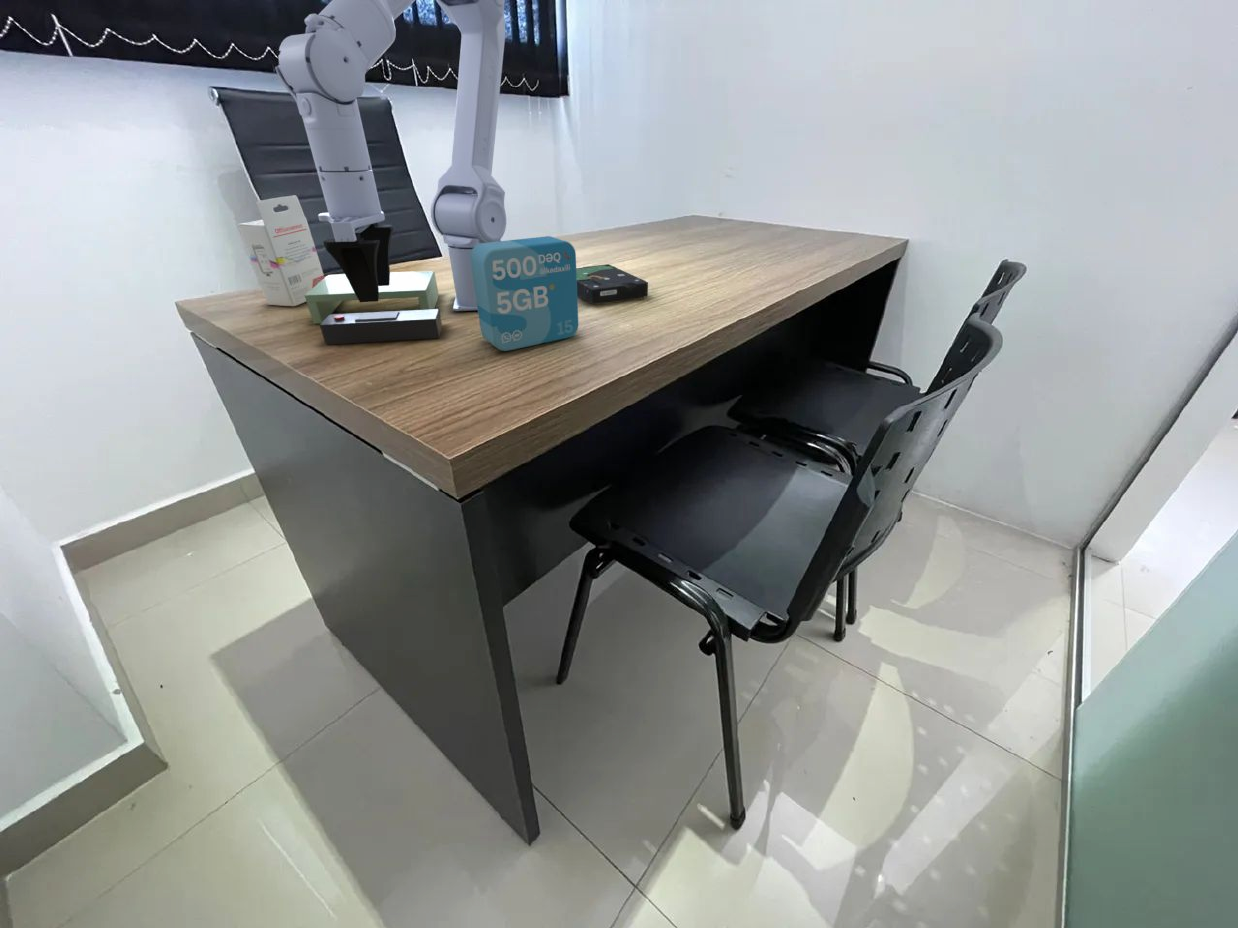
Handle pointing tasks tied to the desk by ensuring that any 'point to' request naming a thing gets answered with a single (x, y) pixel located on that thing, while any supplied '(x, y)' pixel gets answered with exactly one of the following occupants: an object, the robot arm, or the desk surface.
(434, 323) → the remote
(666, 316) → the desk surface
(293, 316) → the desk surface
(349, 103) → the robot arm
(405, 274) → the shelf
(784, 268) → the desk surface
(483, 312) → the data package
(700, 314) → the desk surface
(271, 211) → the ink cartridge box
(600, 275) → the disk drive
